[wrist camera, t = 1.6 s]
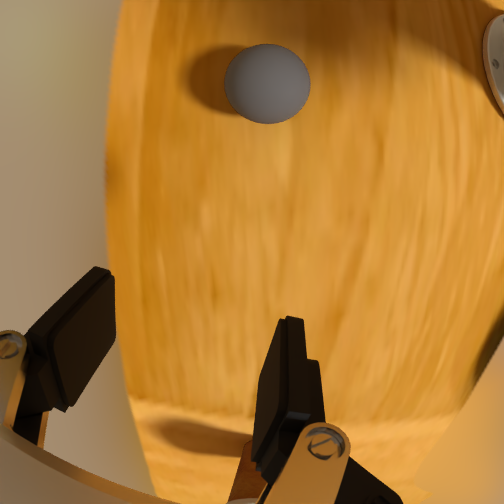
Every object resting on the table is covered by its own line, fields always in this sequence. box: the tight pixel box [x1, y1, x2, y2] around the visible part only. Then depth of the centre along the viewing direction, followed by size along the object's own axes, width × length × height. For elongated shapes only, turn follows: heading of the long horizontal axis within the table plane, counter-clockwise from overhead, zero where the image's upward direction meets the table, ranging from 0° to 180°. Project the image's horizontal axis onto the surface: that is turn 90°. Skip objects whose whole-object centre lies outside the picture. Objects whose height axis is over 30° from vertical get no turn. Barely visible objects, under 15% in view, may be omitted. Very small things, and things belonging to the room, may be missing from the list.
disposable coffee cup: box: [226, 441, 267, 504], centre depth 32 cm, size 10×10×12 cm
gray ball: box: [224, 44, 310, 124], centre depth 18 cm, size 6×6×6 cm
